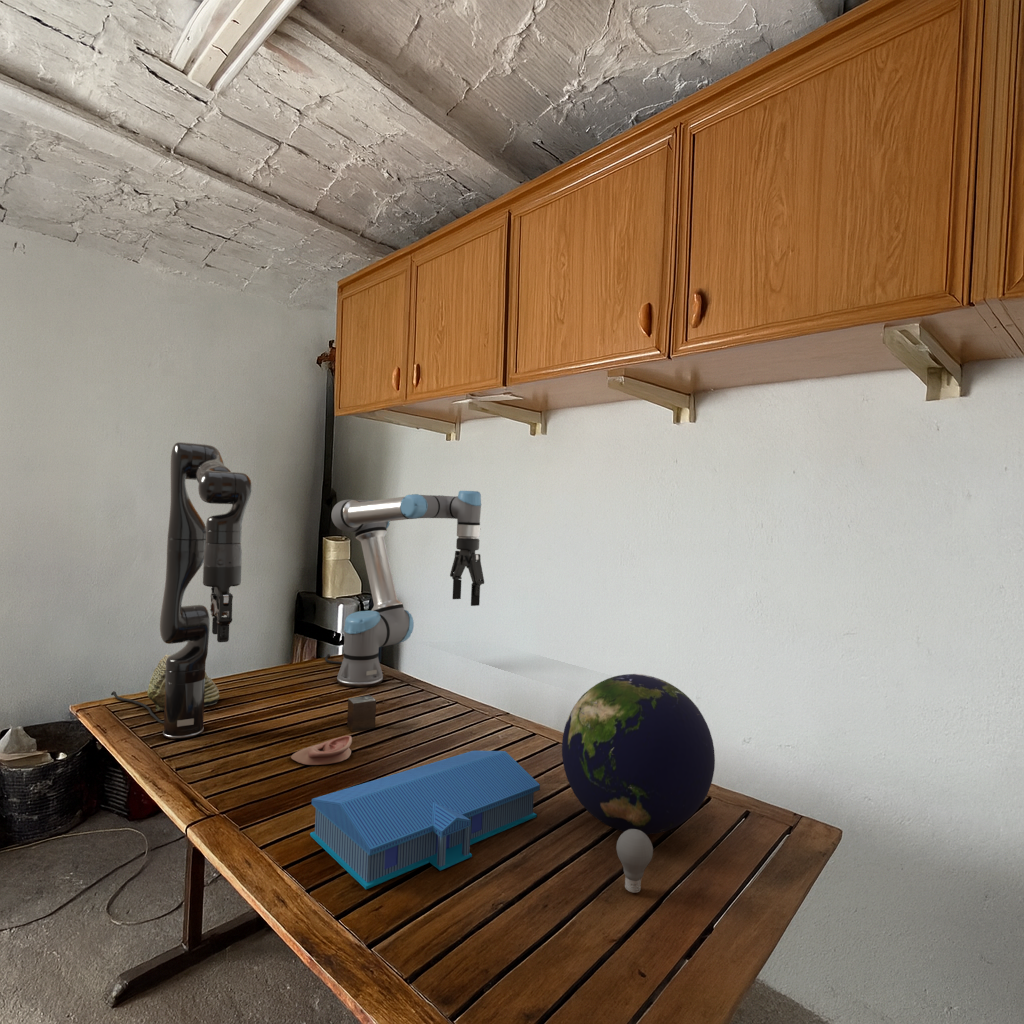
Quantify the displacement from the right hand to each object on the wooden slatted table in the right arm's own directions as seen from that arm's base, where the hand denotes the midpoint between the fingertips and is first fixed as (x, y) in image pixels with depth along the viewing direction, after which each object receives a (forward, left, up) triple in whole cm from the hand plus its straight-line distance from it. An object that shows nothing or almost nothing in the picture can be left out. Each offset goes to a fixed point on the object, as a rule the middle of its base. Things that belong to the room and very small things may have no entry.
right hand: (465, 602), depth 208 cm
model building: (+84, -20, -30) cm, 91 cm away
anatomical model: (+46, -42, -30) cm, 69 cm away
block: (+27, -33, -30) cm, 52 cm away
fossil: (+4, -83, -30) cm, 88 cm away
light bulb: (+109, +11, -30) cm, 114 cm away
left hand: (+57, -64, +1) cm, 85 cm away
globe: (+89, +20, -30) cm, 96 cm away
